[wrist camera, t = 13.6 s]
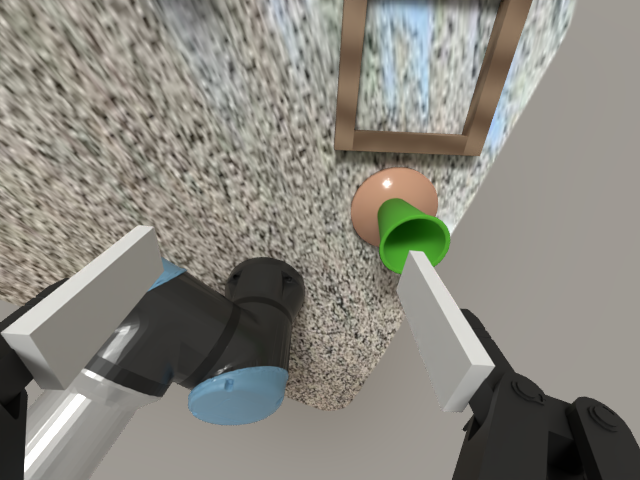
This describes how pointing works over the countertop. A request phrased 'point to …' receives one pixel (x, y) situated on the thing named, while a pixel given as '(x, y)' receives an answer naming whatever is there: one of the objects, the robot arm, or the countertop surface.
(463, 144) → the frame
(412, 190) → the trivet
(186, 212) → the countertop surface
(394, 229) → the cup
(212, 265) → the countertop surface
